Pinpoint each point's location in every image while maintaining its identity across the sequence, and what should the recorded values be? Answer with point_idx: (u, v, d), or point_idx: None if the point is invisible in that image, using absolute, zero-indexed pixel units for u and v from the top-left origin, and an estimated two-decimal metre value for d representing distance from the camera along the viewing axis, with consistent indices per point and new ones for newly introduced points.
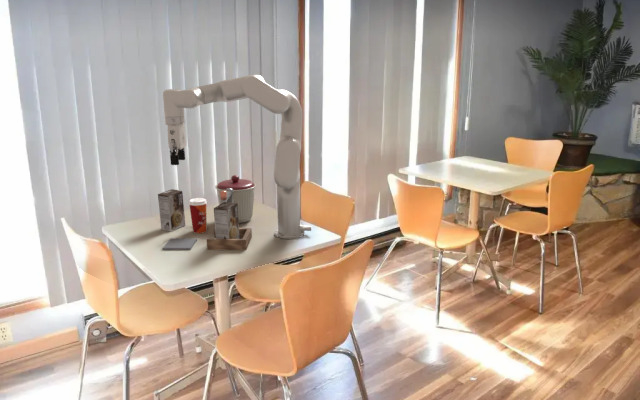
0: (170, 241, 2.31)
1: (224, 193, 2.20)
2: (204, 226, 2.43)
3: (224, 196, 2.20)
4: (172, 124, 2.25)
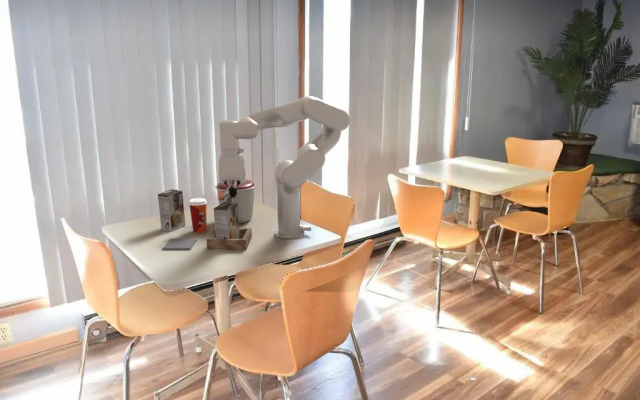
0: (170, 241, 2.31)
1: (222, 193, 2.20)
2: (204, 226, 2.43)
3: (222, 196, 2.21)
4: (240, 154, 2.25)
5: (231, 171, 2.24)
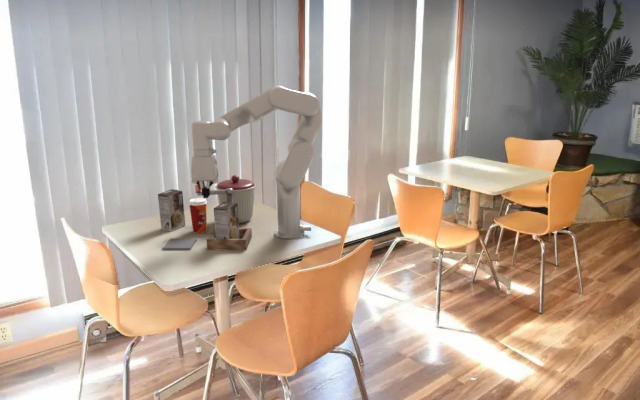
0: (170, 241, 2.31)
1: (195, 187, 2.30)
2: (204, 226, 2.43)
3: None
4: (212, 155, 2.25)
5: (203, 171, 2.25)
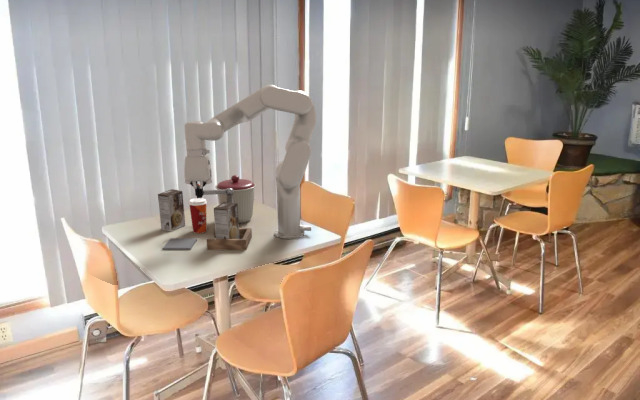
0: (170, 241, 2.31)
1: None
2: (204, 226, 2.43)
3: None
4: (206, 155, 2.25)
5: (197, 172, 2.25)
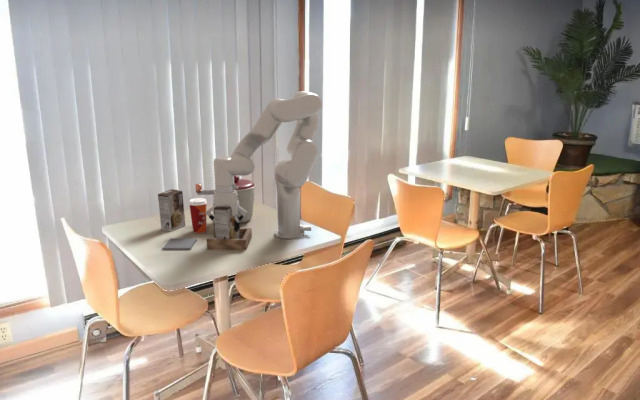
0: (170, 241, 2.31)
1: None
2: (204, 226, 2.43)
3: (196, 189, 2.32)
4: (234, 190, 2.24)
5: None
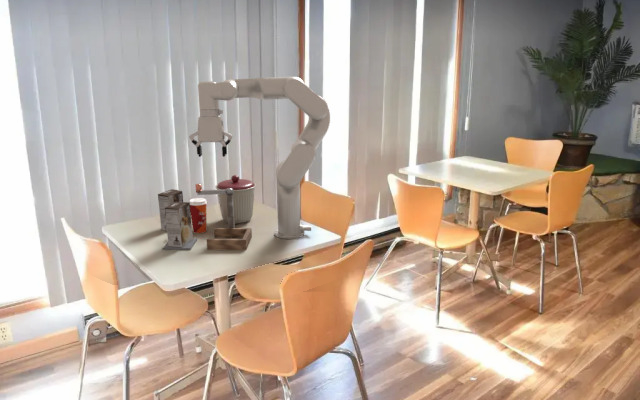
0: None
1: None
2: (204, 226, 2.43)
3: (196, 189, 2.32)
4: None
5: (210, 132, 2.24)
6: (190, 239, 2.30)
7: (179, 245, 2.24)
